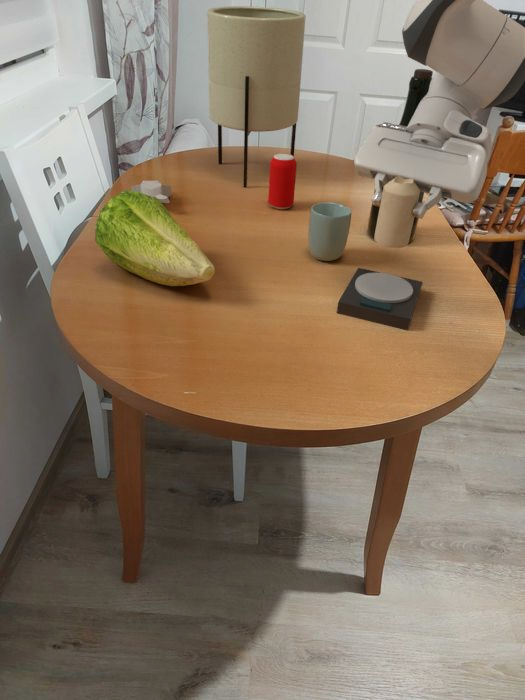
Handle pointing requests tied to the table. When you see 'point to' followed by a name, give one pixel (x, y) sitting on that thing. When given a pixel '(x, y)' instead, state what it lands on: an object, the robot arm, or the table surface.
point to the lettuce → (149, 241)
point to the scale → (380, 298)
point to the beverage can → (282, 181)
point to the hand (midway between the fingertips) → (396, 210)
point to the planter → (254, 70)
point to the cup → (328, 230)
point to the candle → (396, 212)
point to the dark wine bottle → (415, 95)
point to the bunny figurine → (154, 190)
